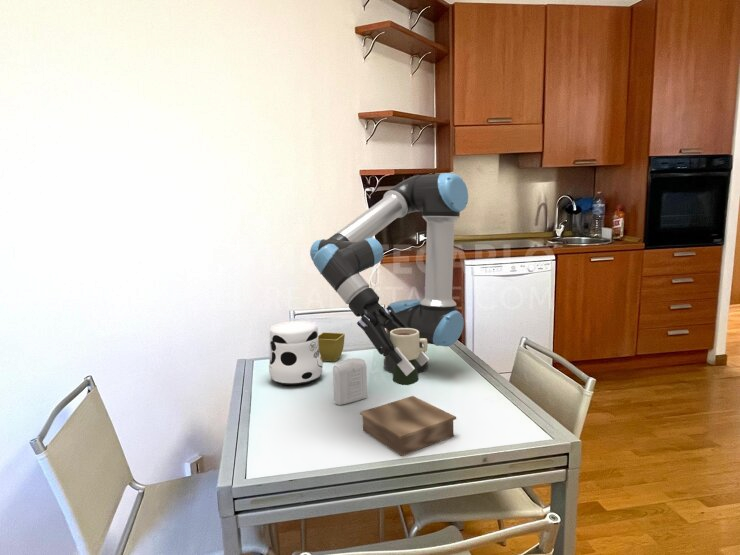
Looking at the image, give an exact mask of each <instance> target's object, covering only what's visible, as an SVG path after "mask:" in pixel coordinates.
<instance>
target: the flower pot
mask: <svg viewBox="0 0 740 555" xmlns="http://www.w3.org/2000/svg"><path fill="white" fill-rule="evenodd" d="M345 335H346V334H345V333H340V332H339V333H338V332H321V333H320V334H318V339H319V352H320V355H321V358H322V362H336V361H338V359H339V358H341V355H342V352H343V351H344V346H345Z"/></svg>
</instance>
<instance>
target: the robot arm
mask: <svg viewBox="0 0 740 555" xmlns="http://www.w3.org/2000/svg"><path fill="white" fill-rule="evenodd" d="M468 201H469V191H468V188H467V185H466V181H464V179H463V177H461V176H460V175H459V174H456V173H452V172H451V173H447V172H441V173H431V174H417V175H413V176H411V177H409V178H407V179H404V180H402V181H401V182H399V183H398V184H396V185H394V186H392V187H391V188H390V189H389V190H387V191H386V192H385V193H384V194H383V197H382V199H381V200H379V201H378V202H376V203H375V204H373V205H372V206H371V207H370V208H368V209H367V210H366V211H364V212H363V213H362V214H360V215H359V216H357V217H356V218H355V219H353V220H352V221H351V222H349V223H348V224H347V225H345V226H343V228H341V229H340V230H338V231H337V232H336V233H334V234H333V235H331V236H330V237H329V238H327V239H324V238H322V239H319V240H318V239H317V240H315V241H314V242H313V243H312V244H311V246H310V250H309V252H310V253H309V255H310V259H311V261H312V263H313V264H314V266H315V268H316V269H317V271H318V272H319V274H320V275H322V277H323V278H324V280H325V281H326V282H327V283H328V284H329V285H330V286H331V288H332V289H333V290H334V291H335V292H336V294H338V296H339V297H340V298H341V300H342V301H343V302H344V303H345V304H346V305H348V308H349V310H351V312H352V313H353V314H354V316H355V317H357V318H359V317H360V318H359V320H358V321H357V322H356V324H357V325H358V327H359V328H361V329H362V330H363V332H364V333H365V335H366V336H367V338H368V339H369V340H370V343H371V344H372V345H373V347H374V348H375V349H376V351H377V352H378V353H379V354H380V355H382V356H383V357H384V359H383V369H384V370H385V371H387V372H389V373H392V374H393V371H394V363H396V364H397V365H398V366H399V368H400V369H401V370H402V371H403V372H404V374H405V375H406V376H407V375H409V374H410V373H411V372H412V371H413V370H414V369H415V368H414V367H413V365H412V364H411V363H410V362H409V361H408V359H407V358H406V357H405V356H404V355H403V353H402V352H401V351H400V350H399V349H398V347H396V348H395V349H394V346H393V344H392V342H391V340H390V331H391V330H394V329H398V328H412V329H416V330H418V331H419V338H425V339H427V344H429V345H434V346H437V347H445V348H446V347H447V348H448V347H451V346H453V345H454V344H455V343H457V341H458V339H459V338H461V335H462V332H463V329H464V322H465V321H464V317H463V315H462V313H461V312H460V311H459V310H457V302H456V301H455V300H454V299H453V277H454V275H453V274H454V250H455V249H454V248H455V247H454V246H455V245H454V244H455V223H456V222H457V220H458V219H460V214H461V212H462V211H464V210H465V209H466V208H467V204H468ZM415 212H422V214H421V215H422V216H421V217H422V218H423V219H424V220H425V222H426V239H425V240H426V243H425V244H426V247H425V248H426V249H425V277H424V278H425V279H424V280H425V284H424V298H423V299H422V300H421V299H404V300H398V301H394V302H391V303H389V304H388V305H387V307H383V306H382V305H381V303H379V301H380V296H379V295H378V294H377V292H375V290H374V289H373V288H371V287H370V284H369V283H368V282H367V280H365V278H363V276H362V275H361V274H360V273H361V272H364V271H366V270H367V269H370V268H373V267H374V266H376V265H377V264H379V263H380V262H381V261H382V260H383V259H384V248H383V246H382V244H381V243H380V242H379V241H378V239H377V238H374V236H376V235H377V234H378V233H379V232H381V231H382V230H384V229H385V228H386V227H388V226H389V225H390V224H391V223H392V222H393V221H395V220H397V219H399V218H401V219H403V217H405V216H406V215H408V214H410V213H415ZM386 329H387V330H386ZM419 346H420V348H423V342H419ZM414 360H415V362H416V365H417V371H418V374H419V373H422V372H424V371H426V370H427V369H428V367H429V366H428V365H429V362H428V361H429V360H430V358H429V357H428V356H427V354H426V352H420V353H419V356H418V358H416V359H414Z"/></svg>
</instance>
